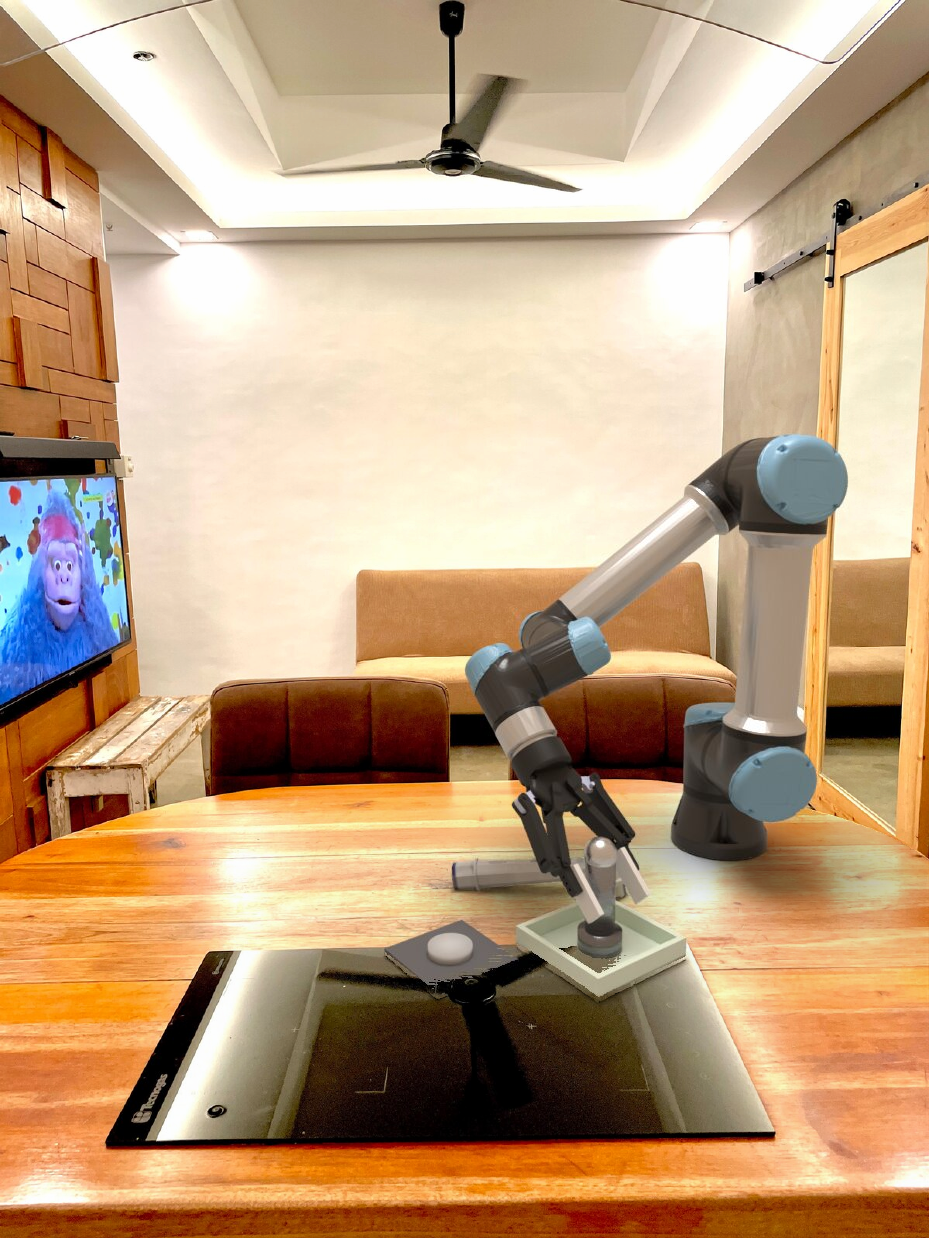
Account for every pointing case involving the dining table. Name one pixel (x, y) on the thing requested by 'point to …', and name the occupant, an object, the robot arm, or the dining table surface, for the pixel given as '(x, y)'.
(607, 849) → the domed glass cylinder
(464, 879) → the grey long rounded piece
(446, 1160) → the dining table surface
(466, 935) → the stud plate
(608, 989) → the tray
